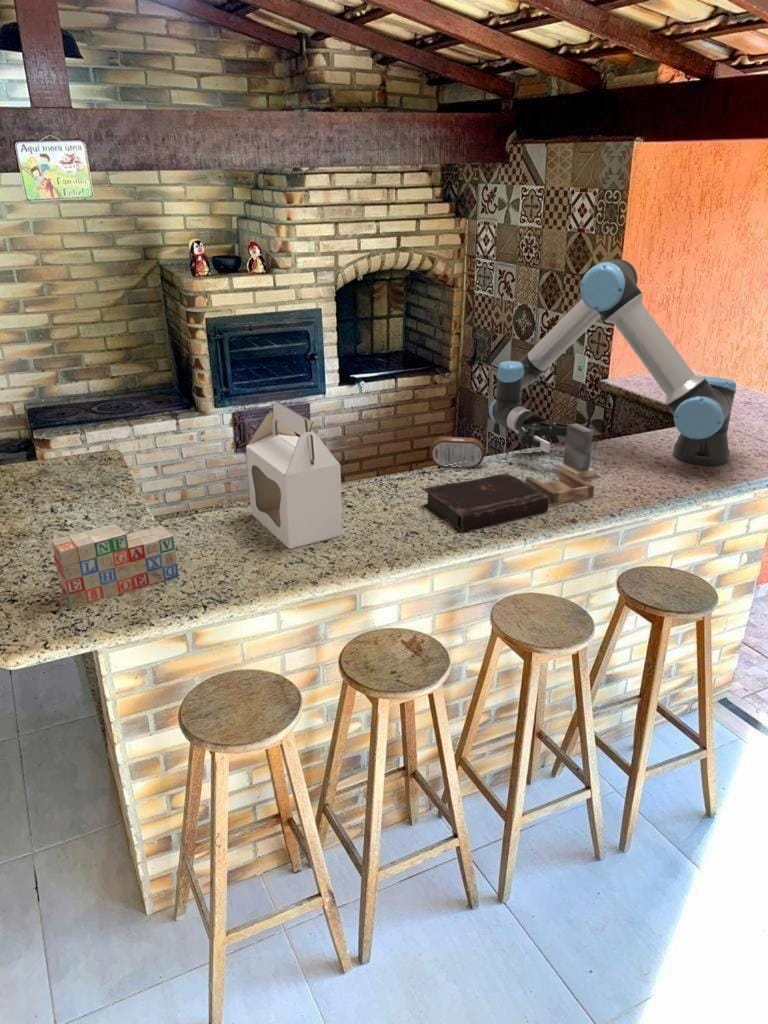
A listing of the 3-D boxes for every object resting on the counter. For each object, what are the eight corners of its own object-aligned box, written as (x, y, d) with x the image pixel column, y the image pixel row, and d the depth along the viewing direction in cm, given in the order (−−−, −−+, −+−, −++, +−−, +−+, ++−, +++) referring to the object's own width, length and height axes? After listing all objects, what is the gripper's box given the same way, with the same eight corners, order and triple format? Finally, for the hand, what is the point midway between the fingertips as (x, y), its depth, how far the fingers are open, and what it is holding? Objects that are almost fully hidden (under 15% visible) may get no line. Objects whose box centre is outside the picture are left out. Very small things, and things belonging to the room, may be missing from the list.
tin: (483, 465, 213) (485, 437, 209) (483, 469, 210) (485, 440, 206) (429, 463, 214) (430, 435, 211) (429, 467, 211) (430, 439, 208)
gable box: (343, 536, 172) (340, 416, 160) (289, 550, 165) (282, 426, 154) (300, 502, 189) (295, 392, 177) (250, 514, 183) (241, 400, 171)
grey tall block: (575, 467, 210) (579, 422, 205) (593, 477, 204) (599, 430, 198) (557, 470, 208) (561, 425, 203) (575, 480, 201) (580, 433, 196)
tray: (563, 482, 201) (565, 470, 200) (592, 498, 191) (594, 486, 190) (525, 489, 197) (526, 477, 195) (552, 506, 187) (553, 494, 185)
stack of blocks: (168, 565, 159) (160, 511, 154) (179, 577, 154) (172, 522, 149) (61, 595, 148) (50, 538, 143) (70, 609, 143) (59, 551, 138)
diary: (548, 514, 184) (550, 495, 182) (462, 536, 173) (463, 516, 171) (502, 487, 199) (503, 470, 197) (420, 506, 188) (420, 487, 186)
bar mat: (578, 466, 212) (578, 465, 212) (601, 478, 204) (601, 477, 203) (548, 471, 208) (548, 470, 208) (571, 484, 200) (571, 482, 200)
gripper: (559, 429, 229) (605, 451, 211) (488, 440, 220) (529, 464, 202) (561, 405, 226) (608, 425, 208) (489, 415, 217) (531, 437, 199)
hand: (569, 444), depth 205 cm, fingers open, 13 cm apart
